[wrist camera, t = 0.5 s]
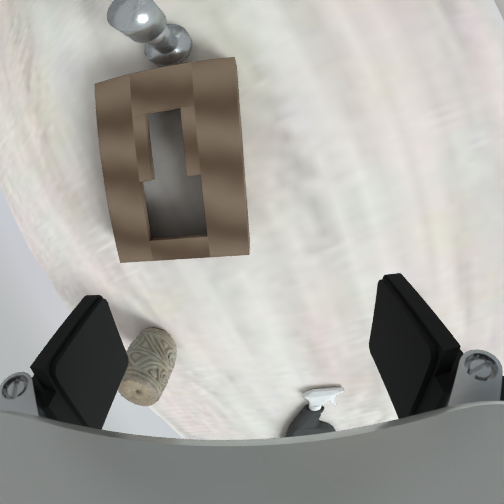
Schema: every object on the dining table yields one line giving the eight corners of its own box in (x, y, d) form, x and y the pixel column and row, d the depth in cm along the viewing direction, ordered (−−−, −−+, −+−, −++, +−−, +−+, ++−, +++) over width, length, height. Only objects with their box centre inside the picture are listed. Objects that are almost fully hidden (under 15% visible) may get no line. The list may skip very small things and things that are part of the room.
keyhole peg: (148, 32, 29) (100, -6, 16) (191, 24, 29) (160, -24, 16) (149, 70, 31) (98, 45, 18) (193, 62, 31) (160, 28, 18)
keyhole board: (112, 88, 32) (94, 83, 27) (236, 66, 31) (234, 57, 27) (133, 247, 40) (120, 262, 35) (249, 239, 40) (249, 254, 35)
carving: (139, 317, 44) (113, 369, 33) (184, 335, 45) (168, 391, 34) (132, 344, 47) (108, 396, 35) (174, 361, 48) (158, 415, 37)
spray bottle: (281, 451, 60) (291, 385, 51) (327, 448, 60) (349, 381, 51) (282, 461, 57) (293, 397, 48) (328, 458, 57) (353, 392, 48)
